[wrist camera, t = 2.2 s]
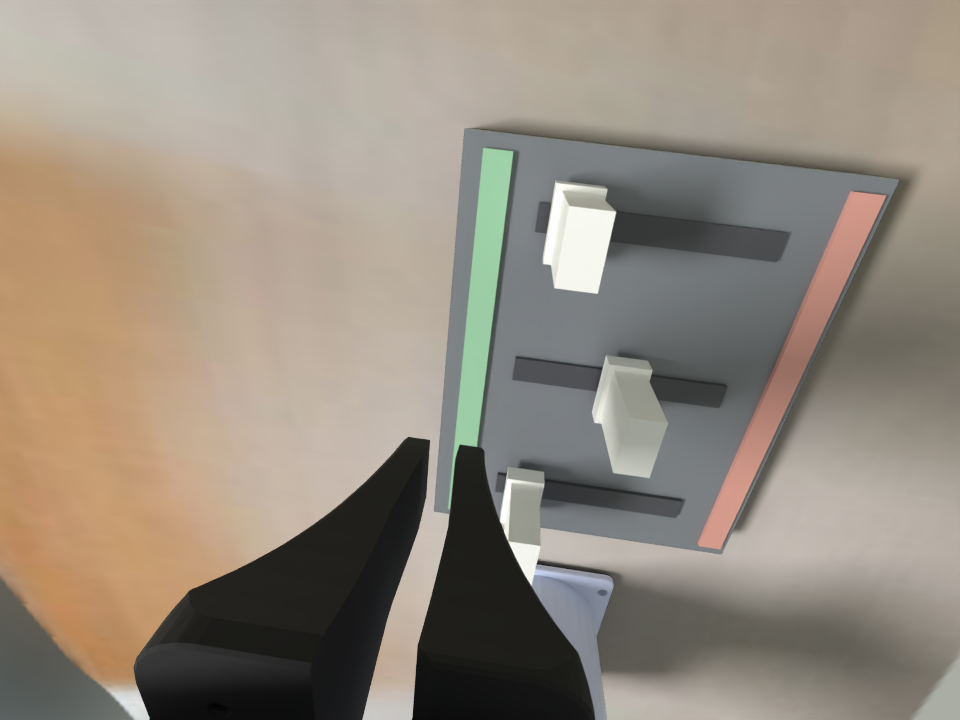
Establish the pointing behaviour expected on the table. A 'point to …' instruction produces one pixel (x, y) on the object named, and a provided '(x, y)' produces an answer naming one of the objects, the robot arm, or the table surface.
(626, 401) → the breaker
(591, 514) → the breaker panel
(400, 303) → the table surface
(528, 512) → the breaker
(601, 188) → the block
